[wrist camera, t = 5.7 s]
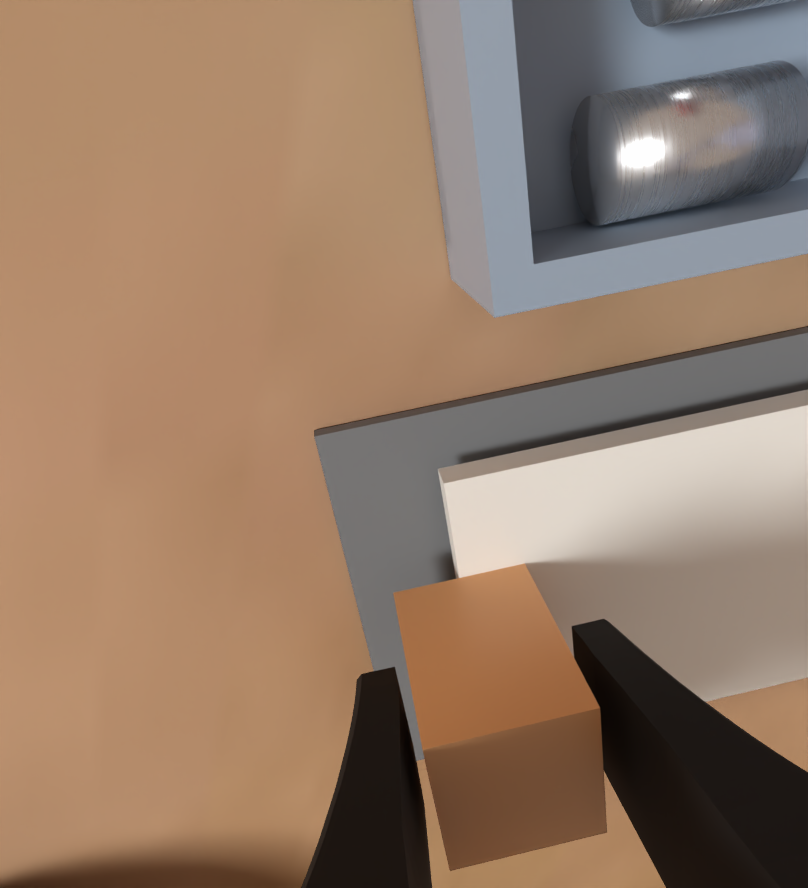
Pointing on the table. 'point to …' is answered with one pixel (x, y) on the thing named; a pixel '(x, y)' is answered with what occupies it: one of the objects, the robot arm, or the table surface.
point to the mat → (498, 433)
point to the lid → (600, 605)
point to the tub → (548, 145)
